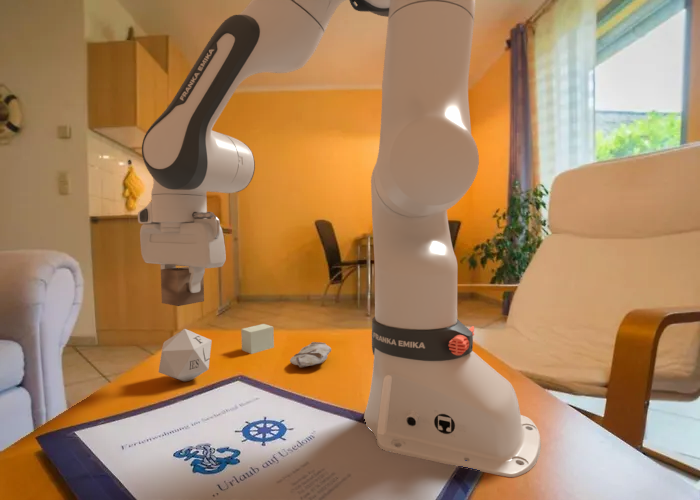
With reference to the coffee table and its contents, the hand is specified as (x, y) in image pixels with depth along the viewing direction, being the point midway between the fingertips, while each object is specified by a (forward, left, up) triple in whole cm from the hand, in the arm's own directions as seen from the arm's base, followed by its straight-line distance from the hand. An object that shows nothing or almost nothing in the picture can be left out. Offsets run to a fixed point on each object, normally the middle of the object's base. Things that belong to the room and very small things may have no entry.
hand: (182, 290), depth 65 cm
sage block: (+3, -20, -17) cm, 26 cm away
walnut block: (0, 0, -2) cm, 2 cm away
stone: (-15, -23, -17) cm, 32 cm away
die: (0, 0, -17) cm, 17 cm away
